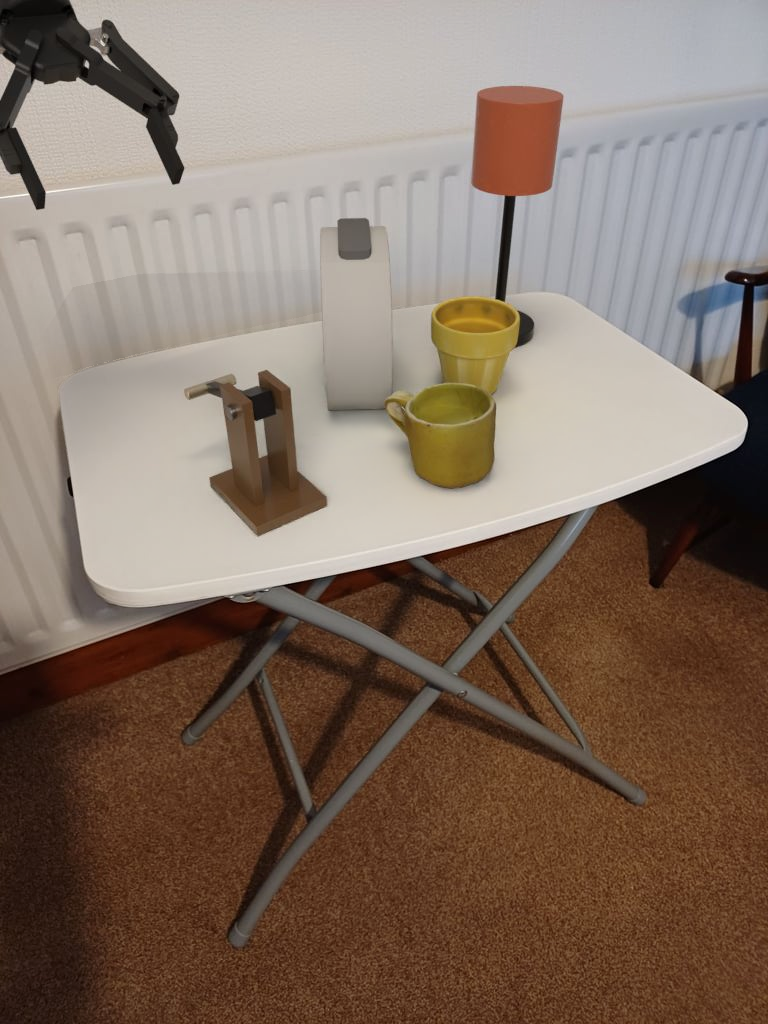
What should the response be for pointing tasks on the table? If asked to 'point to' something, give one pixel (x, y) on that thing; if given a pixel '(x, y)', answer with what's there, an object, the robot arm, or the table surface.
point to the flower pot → (474, 339)
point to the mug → (447, 431)
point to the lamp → (515, 159)
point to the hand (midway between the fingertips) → (112, 188)
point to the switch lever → (257, 394)
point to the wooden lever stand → (264, 462)
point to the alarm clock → (356, 314)
